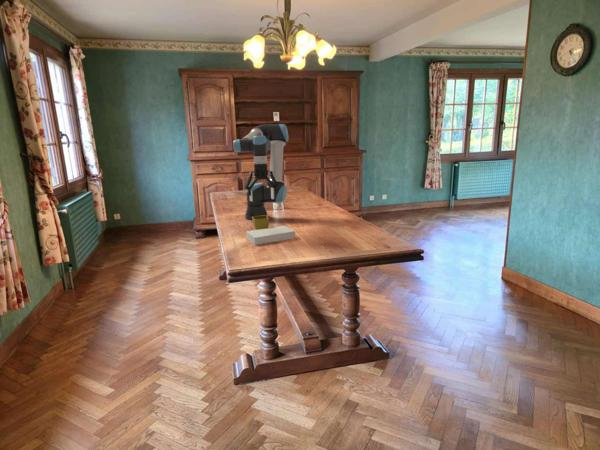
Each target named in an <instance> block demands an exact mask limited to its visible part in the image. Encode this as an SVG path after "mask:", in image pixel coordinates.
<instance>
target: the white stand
mask: <svg viewBox="0 0 600 450" xmlns="http://www.w3.org/2000/svg"><path fill="white" fill-rule="evenodd" d="M245 237H246V239H247V240H248V241H249V242H251V243H252V244H253V245H254V246H257V245H258V246H259V245H263V244H270V243H275V242H280V241H286V240H292V239H296V231H295V230H294V229H292V228H290V227H289V226H287V225H280V226H273V227H268V228H266V229H259V230H256V229H254V230H248V231H245Z"/></svg>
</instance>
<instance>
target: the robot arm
mask: <svg viewBox="0 0 600 450" xmlns="http://www.w3.org/2000/svg"><path fill="white" fill-rule="evenodd" d="M289 139H290V138H289V132H288V127H287V125H286V124H284V123H282V124H281V123H278V124H277V123H276V124H275V123H274V124H273V123H269V124H260V125H258V126H255V127H254V128H252V129H251V130H250V132H249V133H248V134H247V135H245V136H244V137H243V138H241V139H234V140H233V143H232V146H233V147H232V148H233V150H234V152H235V153H253V163H254V164H253V169H254V172H248V177H247V180H246V183H245V185H244V189H246V191H245V192H246V193H245V194H246V211H245V214H244V215H245V216H244V217H245V219H246V220H249V221H251V220H252V221H253V219H252V216H262V215H267V216H268V212H267V210H266V207H265V203H270V204H272V203H274V204H275V203H276V204H278V203H284V201H285V200H286V197H287V185H285V182H284V181H283V167H284V166H283V164H284V163H283V162H284V147H285V146H286V145H287V143H288V142H289ZM269 151H270V160H269V171H268V164H267V163H268V158H267V157H268V154H267V153H268V152H269ZM268 176H269V177H268ZM258 180H259V181H261V180H262V181H263V180H265V181H266V185H265V184H264V182H258Z"/></svg>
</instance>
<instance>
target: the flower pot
mask: <svg viewBox="0 0 600 450" xmlns="http://www.w3.org/2000/svg"><path fill="white" fill-rule="evenodd" d="M252 219H253V220H252V224H253V227H254V230H259V229H266V228H269V224H270V222H269V221H270V218H269V216H268V214H267V215H262V216H252Z"/></svg>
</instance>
